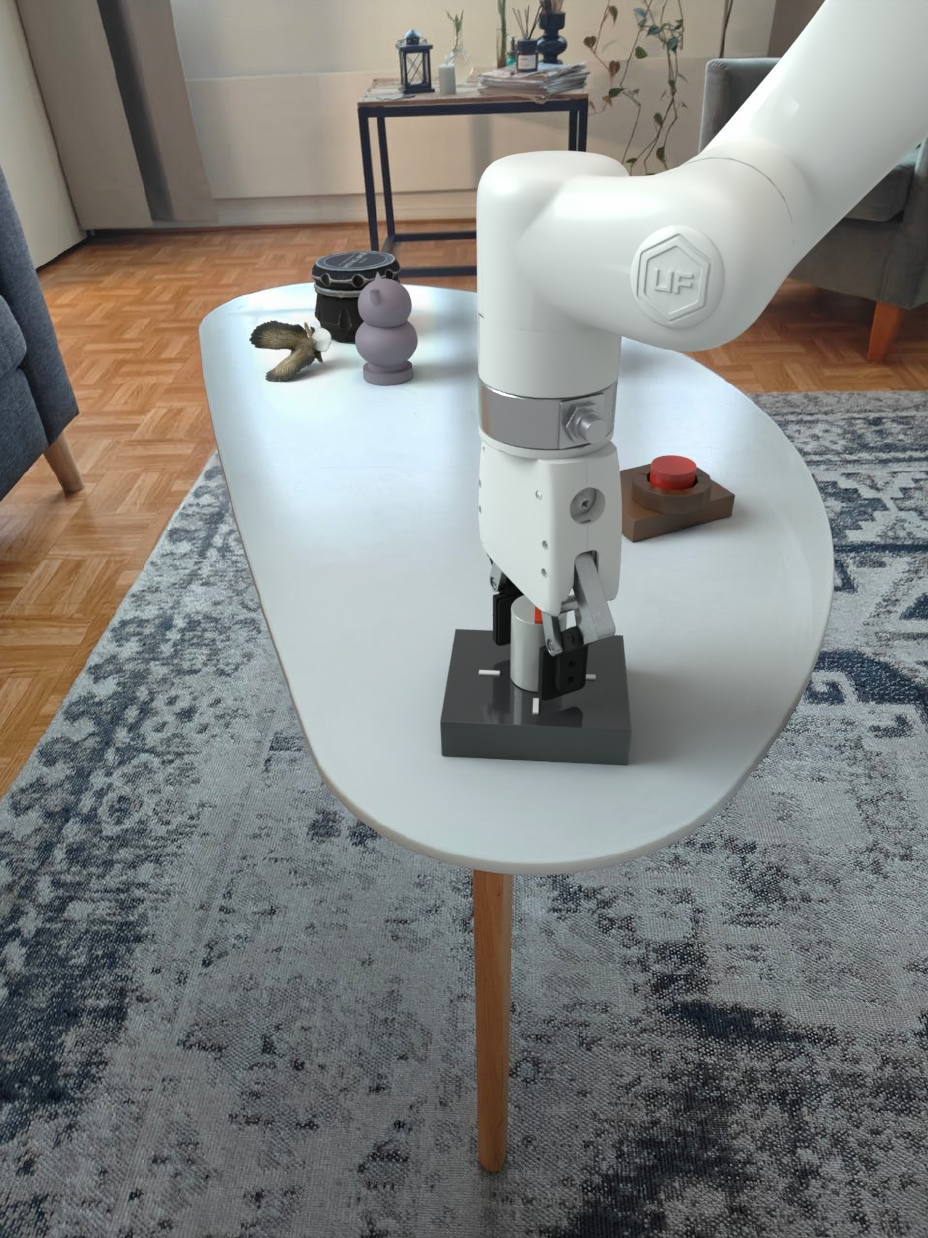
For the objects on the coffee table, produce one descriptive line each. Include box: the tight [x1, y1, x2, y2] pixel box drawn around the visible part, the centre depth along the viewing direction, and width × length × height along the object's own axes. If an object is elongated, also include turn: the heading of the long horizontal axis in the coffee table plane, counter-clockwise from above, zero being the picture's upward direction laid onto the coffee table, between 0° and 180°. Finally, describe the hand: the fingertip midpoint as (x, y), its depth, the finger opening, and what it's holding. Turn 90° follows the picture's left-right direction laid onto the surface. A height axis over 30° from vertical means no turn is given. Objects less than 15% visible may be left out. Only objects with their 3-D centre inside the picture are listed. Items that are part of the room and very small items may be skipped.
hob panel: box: [439, 628, 633, 766], centre depth 61 cm, size 12×10×3 cm
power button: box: [649, 454, 698, 490], centre depth 81 cm, size 4×4×2 cm
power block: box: [620, 463, 736, 543], centre depth 84 cm, size 11×10×4 cm
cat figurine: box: [354, 271, 419, 386], centre depth 112 cm, size 8×8×12 cm
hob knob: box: [510, 595, 569, 692], centre depth 59 cm, size 4×4×6 cm
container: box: [310, 250, 402, 344], centre depth 127 cm, size 13×13×10 cm
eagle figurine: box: [248, 320, 332, 382], centre depth 116 cm, size 8×7×9 cm
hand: (537, 662), depth 60 cm, fingers open, 5 cm apart
